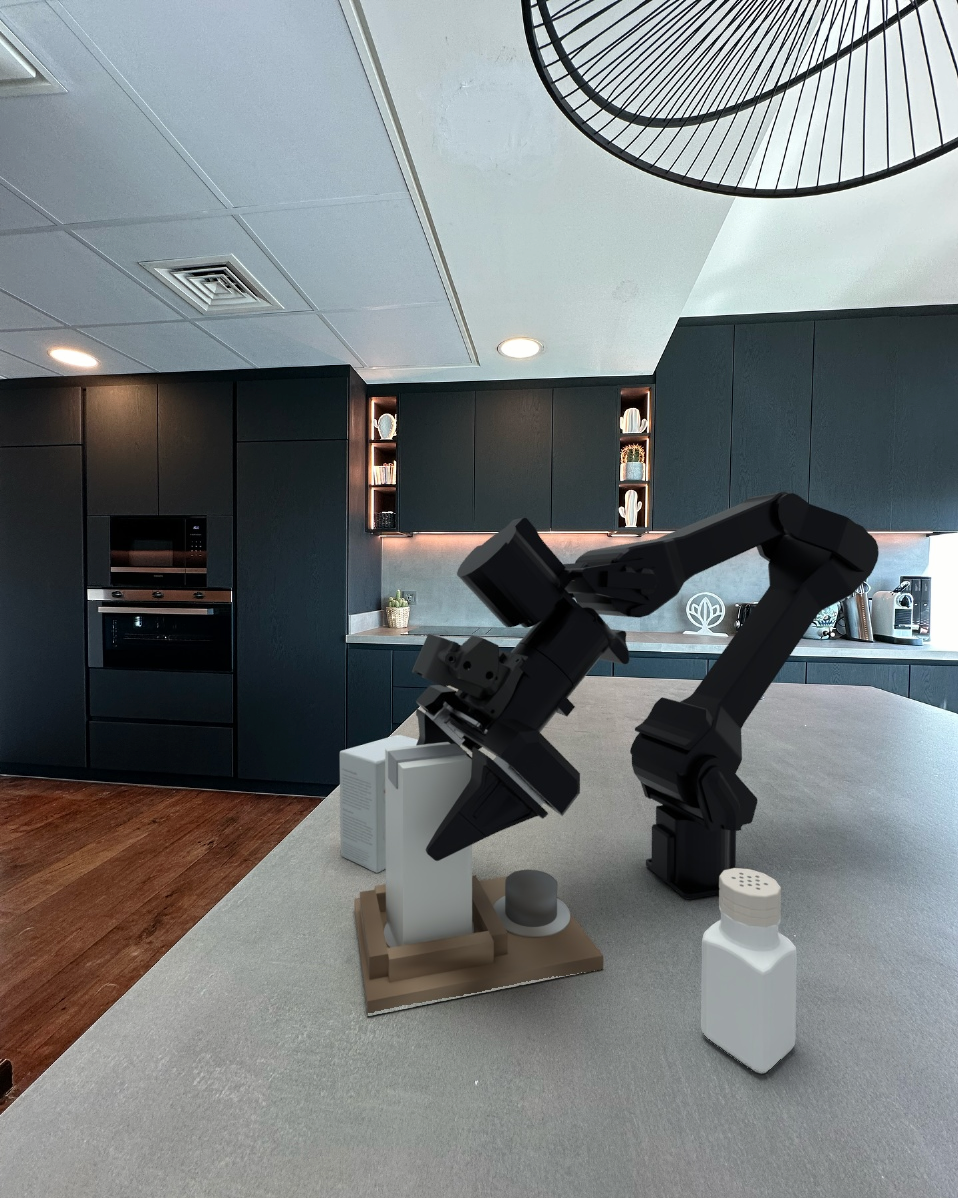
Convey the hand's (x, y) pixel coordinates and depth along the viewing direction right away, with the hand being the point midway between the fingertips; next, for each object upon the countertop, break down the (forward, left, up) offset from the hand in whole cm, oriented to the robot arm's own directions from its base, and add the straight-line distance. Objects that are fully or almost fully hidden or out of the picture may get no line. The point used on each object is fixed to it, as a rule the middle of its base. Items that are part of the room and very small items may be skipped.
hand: (410, 828), depth 42 cm
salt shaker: (-17, +14, -9) cm, 24 cm away
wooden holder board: (-4, 0, -9) cm, 10 cm away
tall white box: (-1, 0, -8) cm, 8 cm away
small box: (0, -16, -9) cm, 19 cm away
